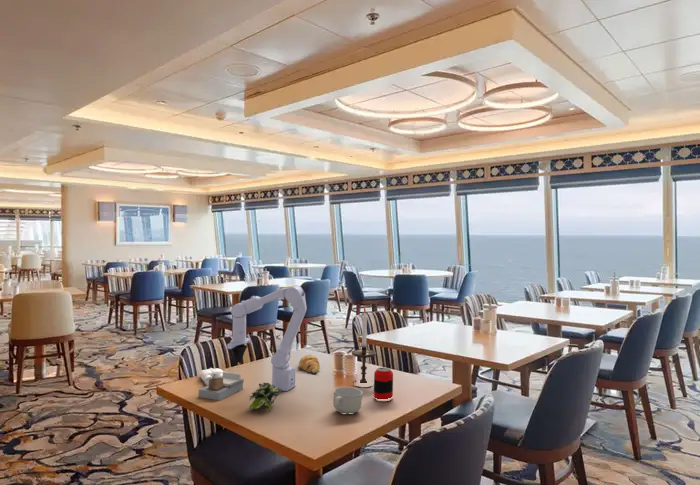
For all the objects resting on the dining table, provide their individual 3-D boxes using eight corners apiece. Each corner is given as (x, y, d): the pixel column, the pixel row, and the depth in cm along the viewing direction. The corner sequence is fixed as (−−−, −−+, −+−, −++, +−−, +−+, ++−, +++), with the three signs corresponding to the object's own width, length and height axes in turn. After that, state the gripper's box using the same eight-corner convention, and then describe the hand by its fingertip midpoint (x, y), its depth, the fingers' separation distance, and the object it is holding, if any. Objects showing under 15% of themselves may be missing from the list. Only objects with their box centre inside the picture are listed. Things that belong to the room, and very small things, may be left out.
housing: (243, 389, 205) (243, 379, 205) (219, 400, 190) (220, 389, 190) (222, 385, 209) (222, 376, 209) (197, 396, 194) (198, 386, 194)
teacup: (345, 405, 188) (346, 384, 188) (368, 411, 181) (368, 390, 181) (321, 414, 177) (321, 392, 177) (344, 422, 170) (344, 399, 170)
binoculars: (204, 387, 207) (205, 376, 207) (197, 377, 222) (197, 367, 222) (229, 384, 212) (229, 373, 212) (220, 375, 227) (221, 365, 226)
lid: (240, 381, 205) (240, 373, 205) (229, 386, 197) (229, 378, 197) (224, 379, 208) (224, 371, 208) (212, 384, 200) (212, 376, 200)
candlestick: (346, 383, 216) (347, 305, 215) (365, 379, 222) (366, 303, 222) (361, 389, 207) (362, 308, 207) (380, 385, 213) (382, 306, 213)
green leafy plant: (263, 419, 186) (276, 389, 192) (277, 422, 177) (291, 391, 183) (239, 406, 181) (254, 376, 187) (252, 409, 173) (267, 377, 178)
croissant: (321, 381, 231) (329, 365, 232) (304, 373, 227) (312, 357, 229) (307, 369, 251) (314, 354, 252) (290, 361, 247) (298, 347, 248)
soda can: (386, 395, 200) (387, 366, 200) (396, 400, 194) (396, 370, 194) (370, 397, 197) (371, 368, 197) (379, 403, 190) (380, 372, 190)
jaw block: (222, 395, 197) (223, 375, 197) (216, 398, 193) (217, 378, 193) (214, 393, 198) (215, 374, 198) (208, 396, 194) (208, 376, 194)
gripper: (241, 327, 219) (240, 357, 219) (221, 333, 205) (220, 365, 205) (254, 328, 216) (254, 359, 216) (235, 334, 202) (234, 367, 203)
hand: (238, 362), depth 210 cm, fingers closed
